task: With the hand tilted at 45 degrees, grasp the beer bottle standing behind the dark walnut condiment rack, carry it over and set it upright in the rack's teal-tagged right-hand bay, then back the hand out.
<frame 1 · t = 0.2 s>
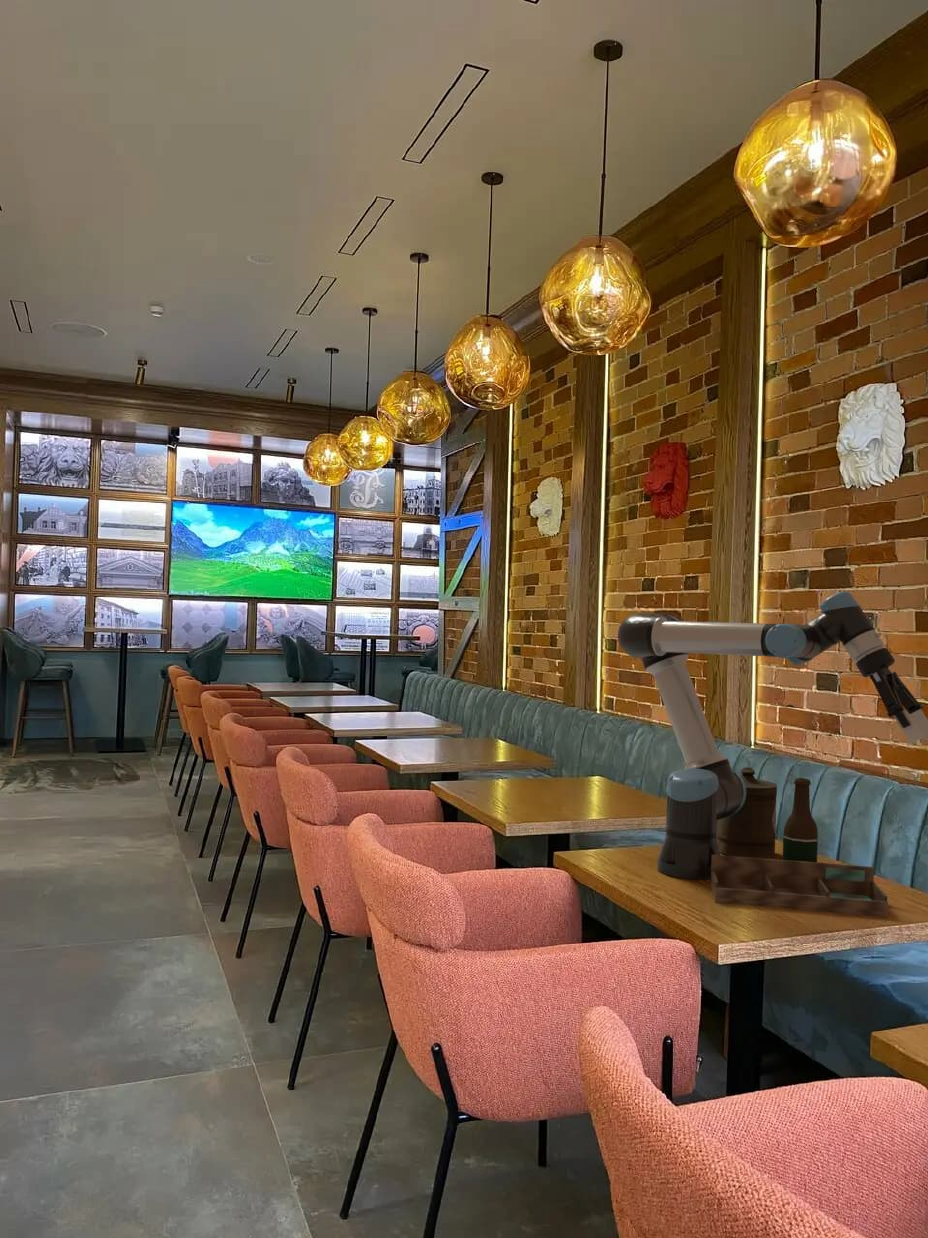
hand: (924, 739, 202), 35 cm above the table, tool tilted 35°, fingers open, 13 cm apart
beer bottle: (799, 885, 212), on the table
condiment rack: (794, 900, 199), on the table
wooden container: (744, 853, 242), on the table
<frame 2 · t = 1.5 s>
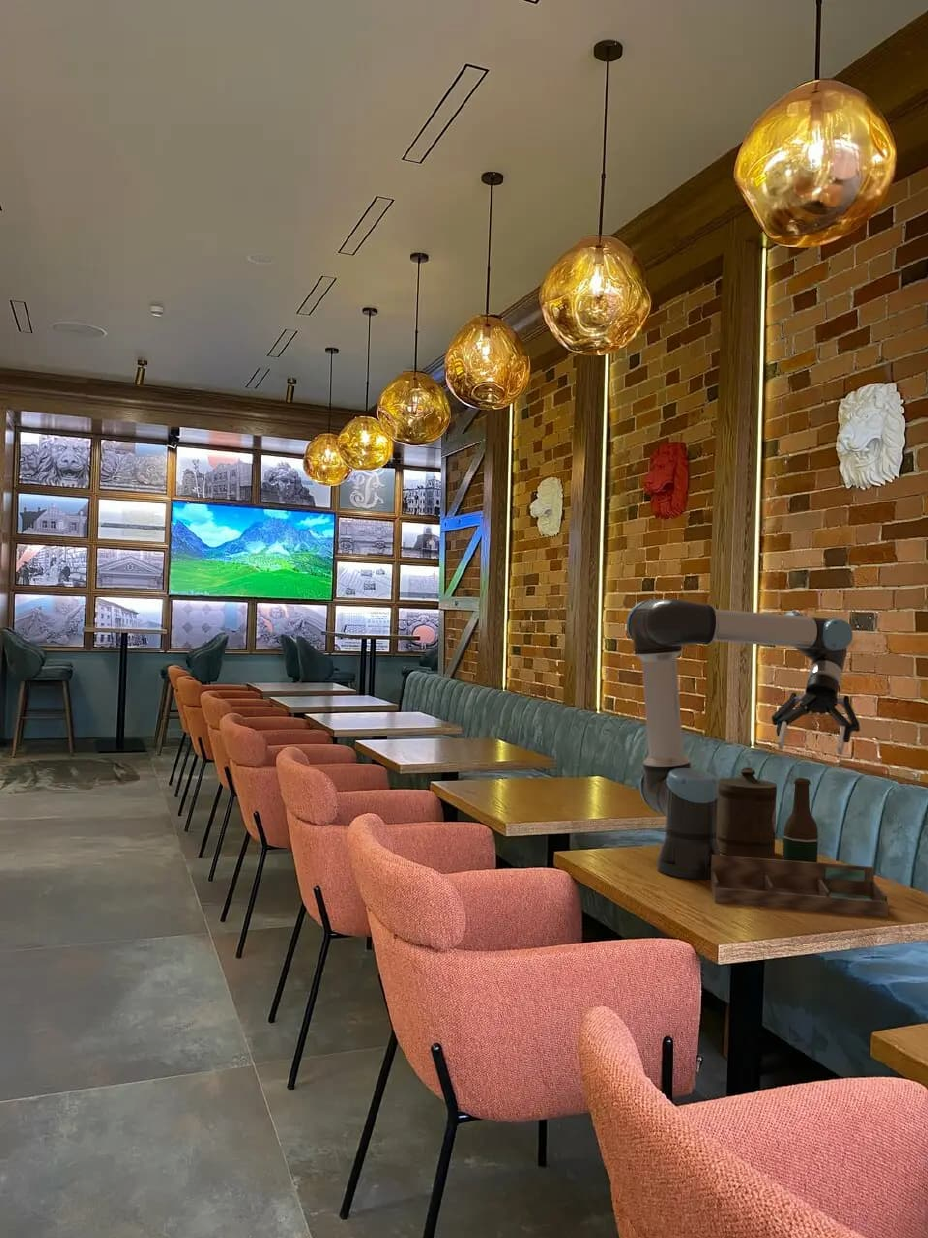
hand: (809, 748, 223), 30 cm above the table, tool tilted 45°, fingers open, 13 cm apart
nothing on the table moved.
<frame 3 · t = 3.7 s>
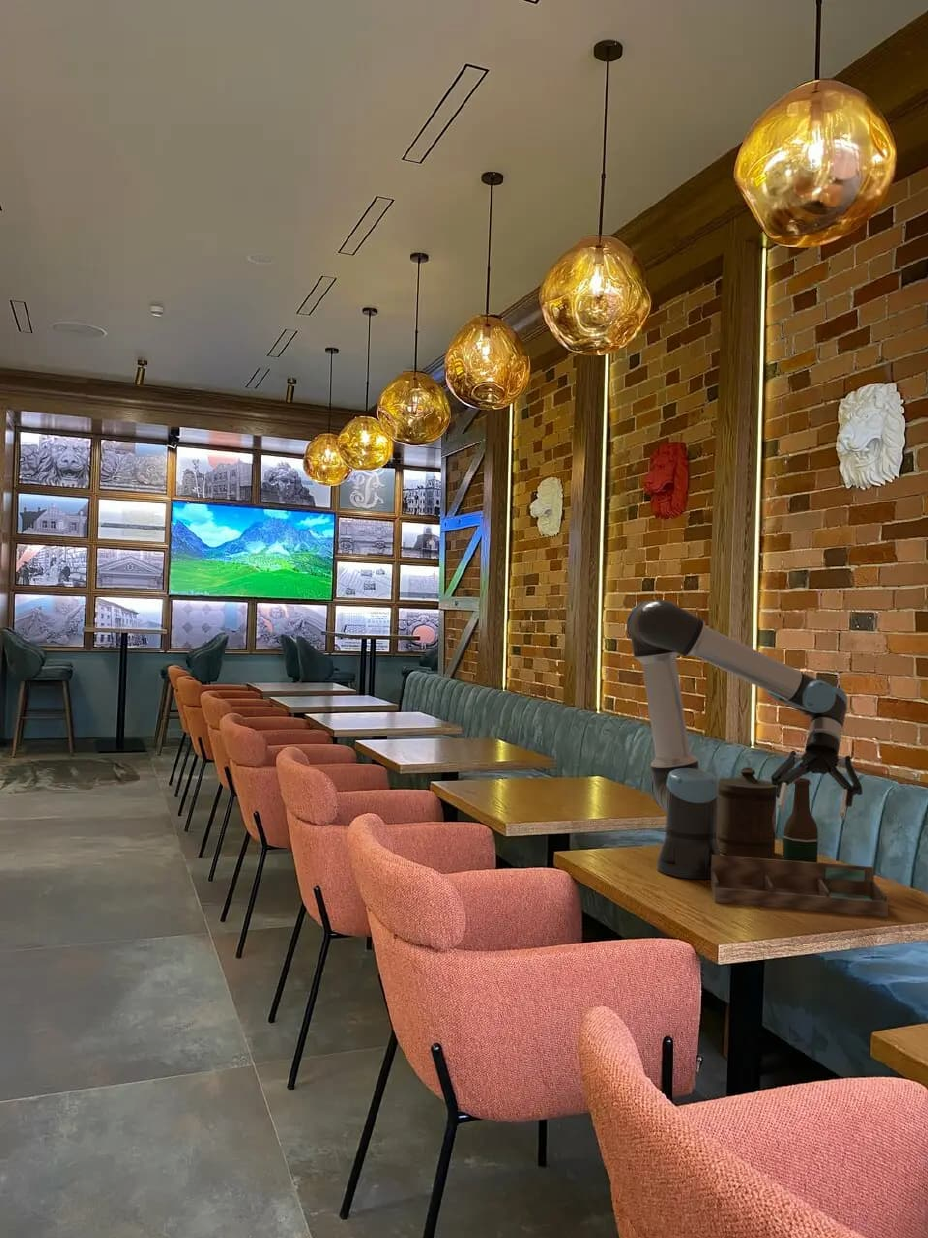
hand: (810, 812, 216), 16 cm above the table, tool tilted 45°, fingers open, 13 cm apart
nothing on the table moved.
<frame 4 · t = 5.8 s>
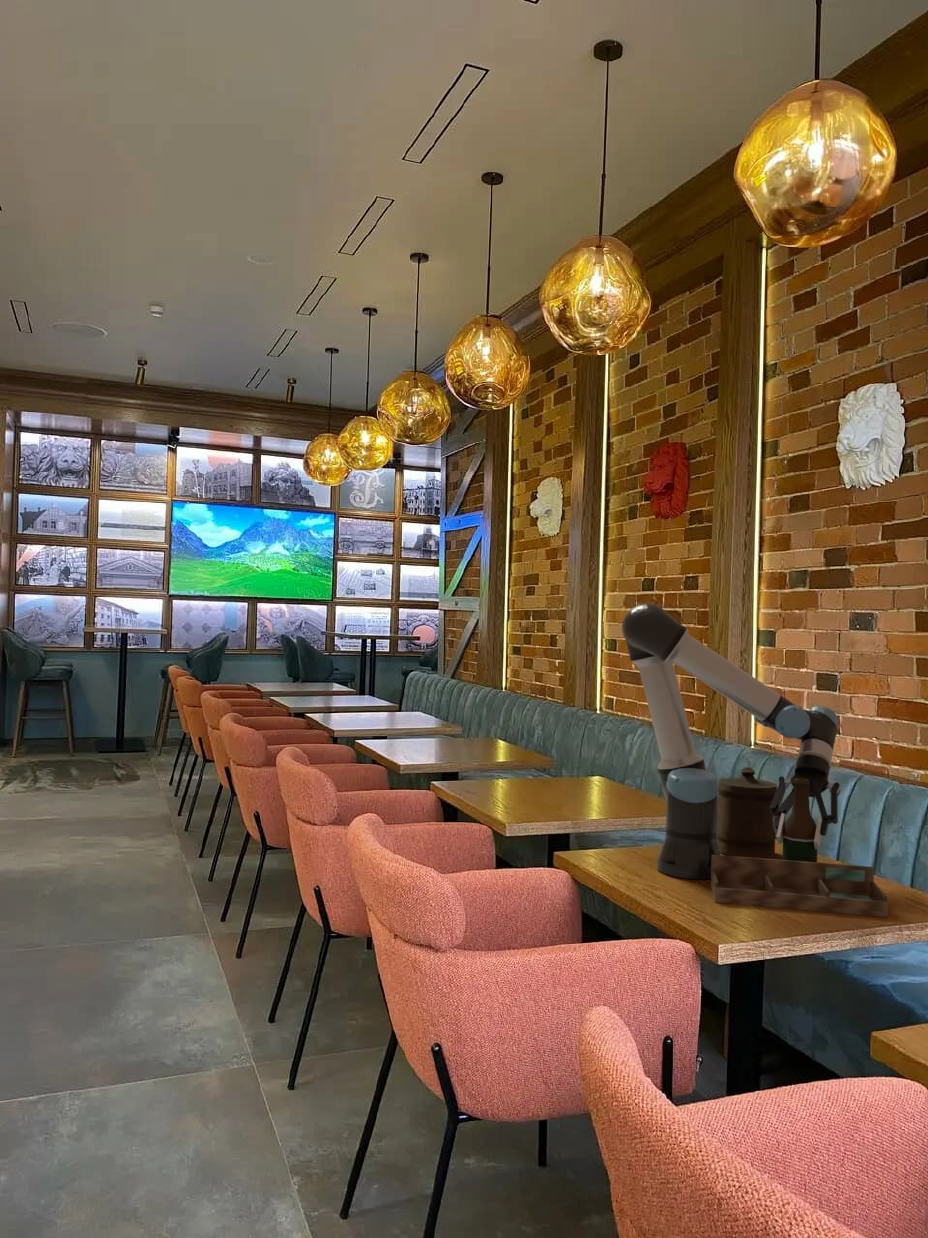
hand: (797, 843, 209), 10 cm above the table, tool tilted 45°, fingers closed on beer bottle, 7 cm apart
beer bottle: (799, 885, 212), on the table, touching gripper
everything else where it was.
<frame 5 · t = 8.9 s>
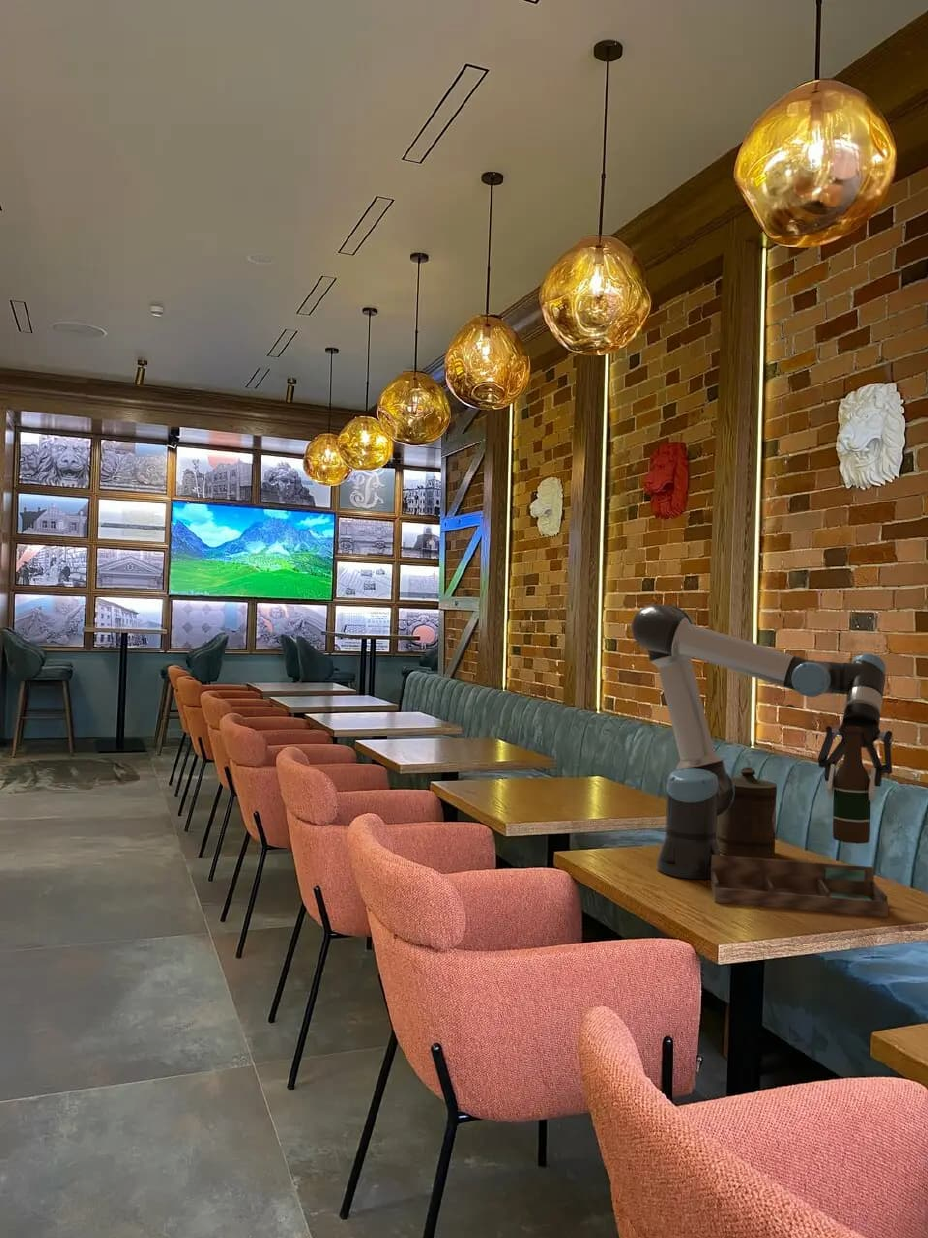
hand: (850, 794, 195), 24 cm above the table, tool tilted 45°, fingers closed on beer bottle, 7 cm apart
beer bottle: (851, 840, 198), point 13 cm above the table, touching gripper
everything else where it was.
when the fingers open (12 cm above the table, at t = 12.1 s): beer bottle drops 1 cm, resting on condiment rack.
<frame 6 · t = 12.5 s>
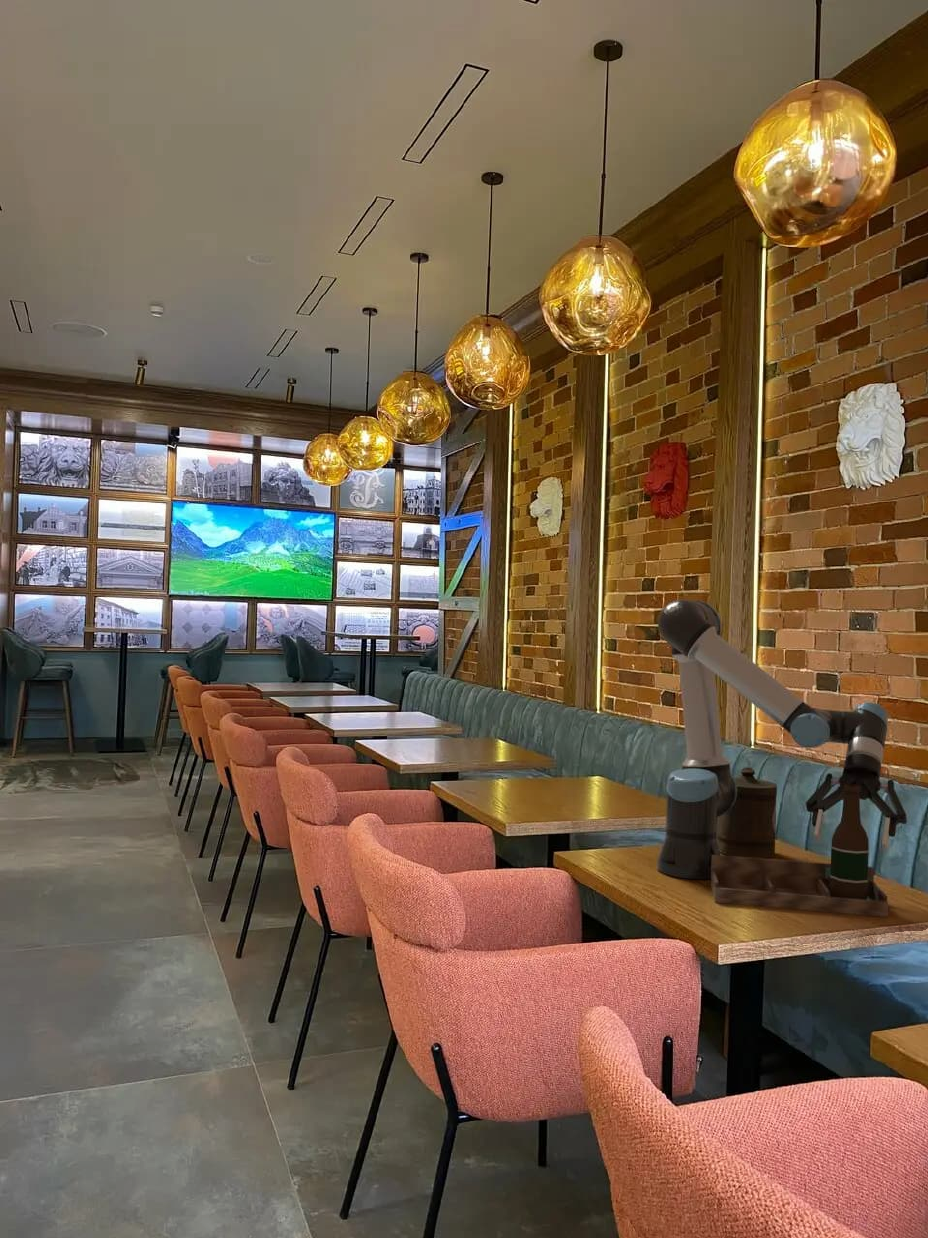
hand: (850, 843, 195), 14 cm above the table, tool tilted 45°, fingers open, 13 cm apart
beer bottle: (848, 900, 197), point 1 cm above the table, touching condiment rack
everything else where it was.
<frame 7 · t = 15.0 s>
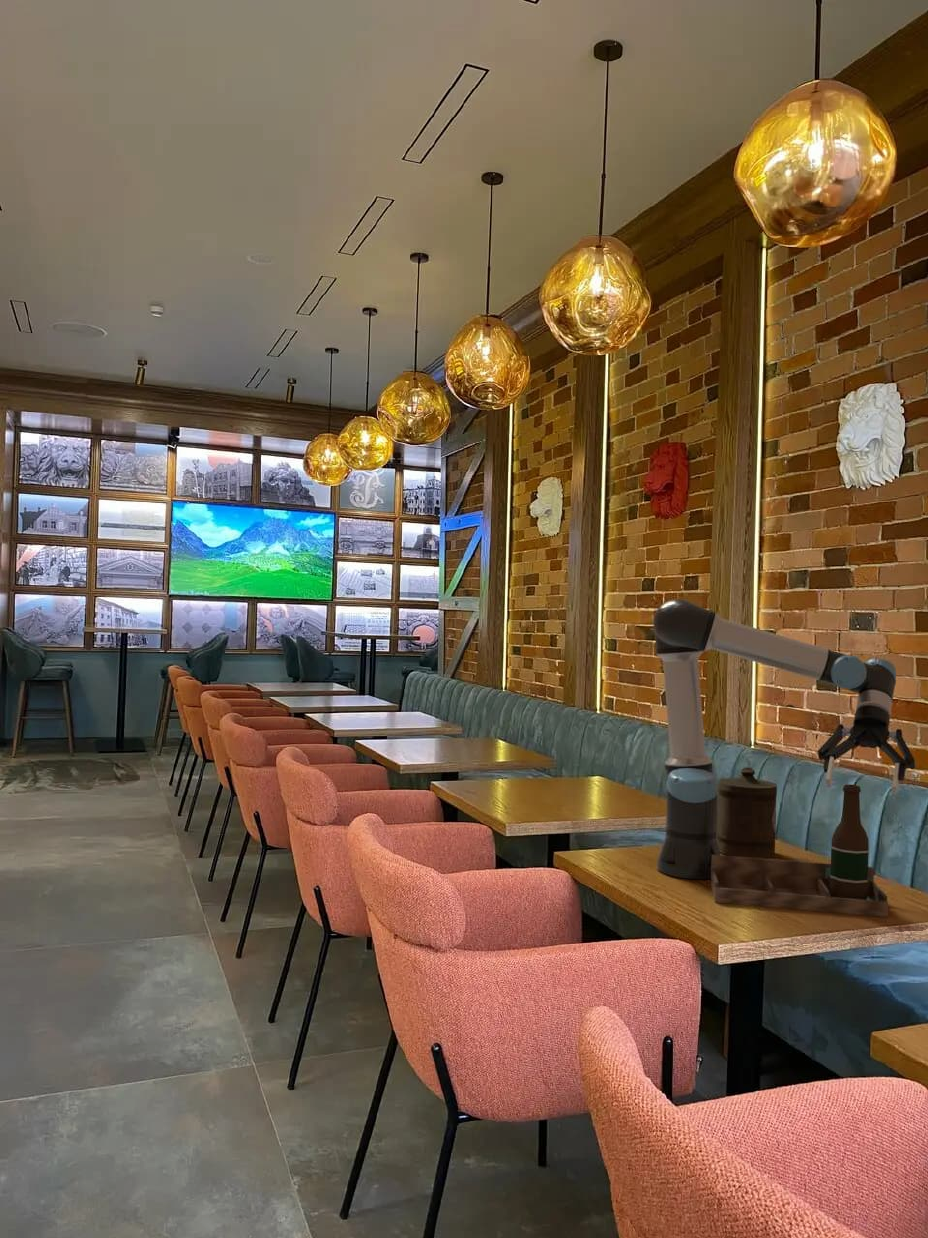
hand: (860, 786, 206), 24 cm above the table, tool tilted 45°, fingers open, 13 cm apart
nothing on the table moved.
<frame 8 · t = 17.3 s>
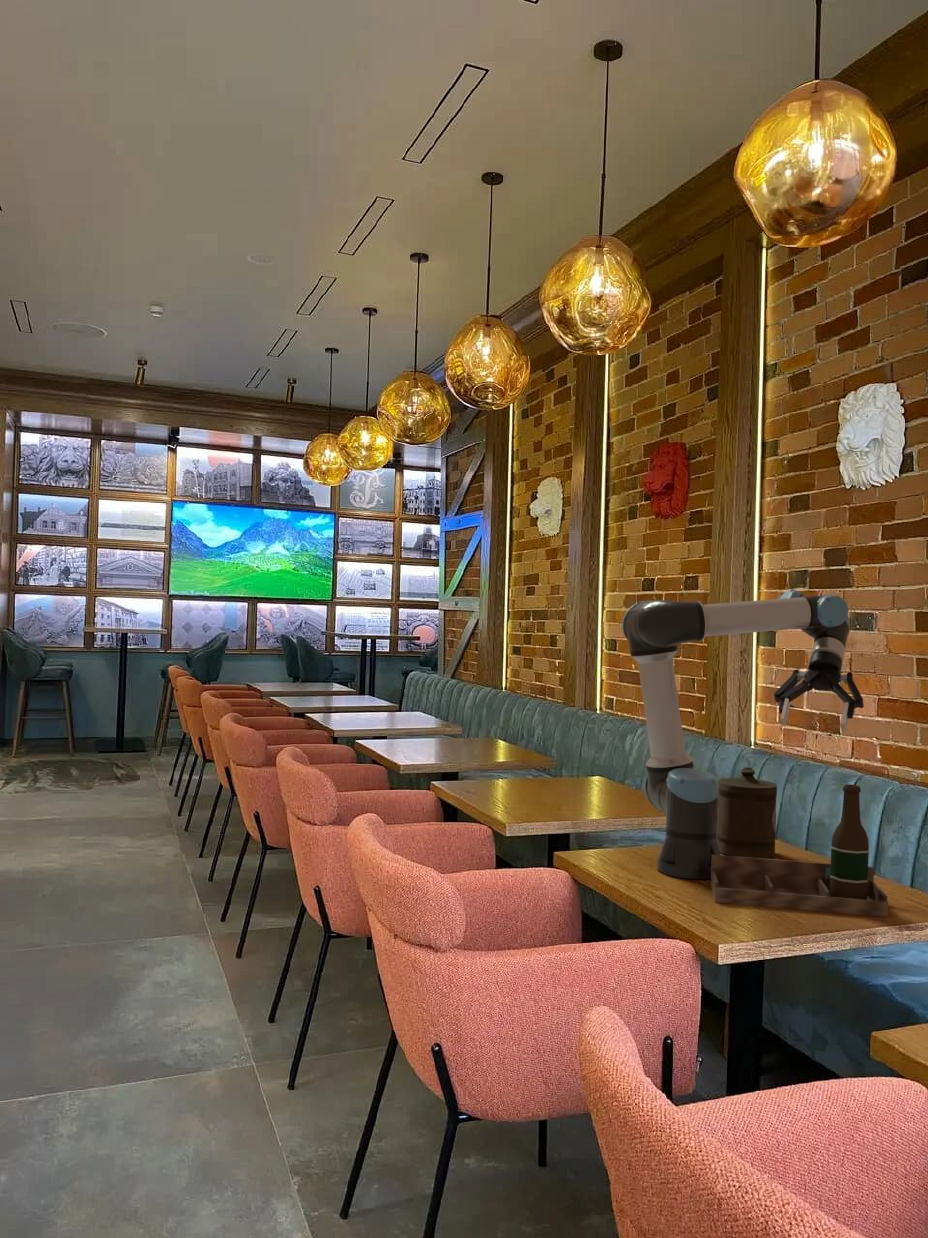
hand: (812, 724, 220), 36 cm above the table, tool tilted 45°, fingers open, 13 cm apart
nothing on the table moved.
at the end: beer bottle 0.4 cm from the target spot on the condiment rack, point 1.0 cm above the condiment rack's base; beer bottle tilted 0°; the gripper is holding nothing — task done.
